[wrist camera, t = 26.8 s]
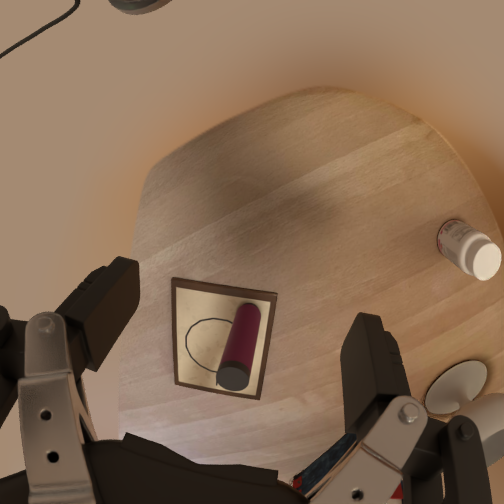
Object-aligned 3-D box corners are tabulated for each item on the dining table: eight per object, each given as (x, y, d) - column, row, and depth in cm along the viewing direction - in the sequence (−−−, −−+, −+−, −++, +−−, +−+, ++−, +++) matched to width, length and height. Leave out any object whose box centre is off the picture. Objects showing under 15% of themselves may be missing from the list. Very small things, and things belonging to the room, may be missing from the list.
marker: (232, 307, 38) (208, 374, 26) (252, 295, 37) (236, 362, 25) (246, 325, 38) (228, 395, 27) (266, 314, 38) (255, 385, 26)
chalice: (491, 340, 36) (536, 402, 22) (488, 394, 40) (519, 451, 26) (415, 378, 40) (444, 454, 25) (422, 426, 43) (442, 491, 29)
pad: (175, 382, 44) (174, 384, 44) (172, 277, 38) (170, 279, 38) (259, 397, 43) (259, 400, 43) (277, 293, 37) (277, 295, 37)
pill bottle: (462, 258, 33) (496, 286, 25) (432, 254, 33) (464, 283, 25) (471, 221, 31) (508, 242, 23) (441, 216, 32) (476, 236, 24)
